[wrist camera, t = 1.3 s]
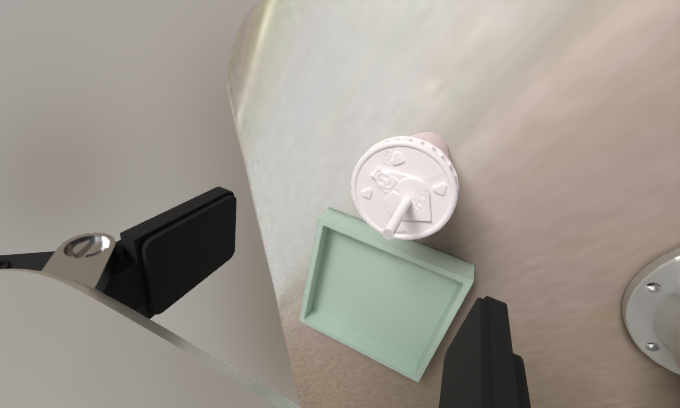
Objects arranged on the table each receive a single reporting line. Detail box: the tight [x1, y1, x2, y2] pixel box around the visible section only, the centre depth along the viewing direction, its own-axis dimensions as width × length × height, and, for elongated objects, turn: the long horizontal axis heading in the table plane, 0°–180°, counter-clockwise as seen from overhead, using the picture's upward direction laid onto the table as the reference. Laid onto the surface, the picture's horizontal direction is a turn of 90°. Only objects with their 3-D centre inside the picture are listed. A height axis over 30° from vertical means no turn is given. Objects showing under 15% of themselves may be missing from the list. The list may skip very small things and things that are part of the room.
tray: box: [299, 208, 474, 382], centre depth 33 cm, size 15×15×3 cm
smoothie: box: [351, 132, 459, 240], centre depth 20 cm, size 6×6×14 cm
